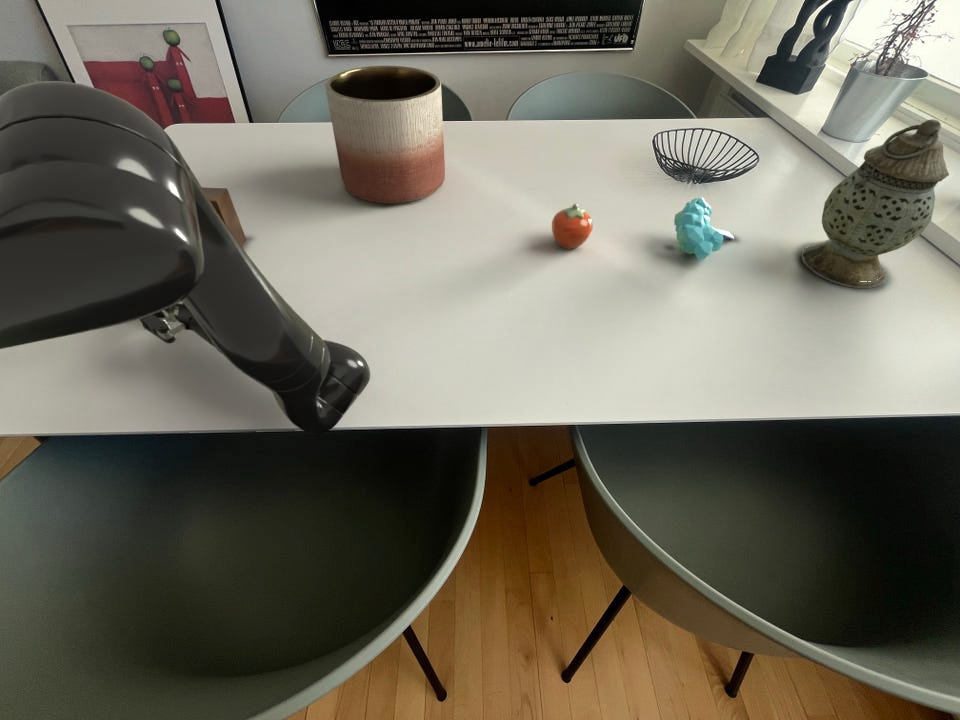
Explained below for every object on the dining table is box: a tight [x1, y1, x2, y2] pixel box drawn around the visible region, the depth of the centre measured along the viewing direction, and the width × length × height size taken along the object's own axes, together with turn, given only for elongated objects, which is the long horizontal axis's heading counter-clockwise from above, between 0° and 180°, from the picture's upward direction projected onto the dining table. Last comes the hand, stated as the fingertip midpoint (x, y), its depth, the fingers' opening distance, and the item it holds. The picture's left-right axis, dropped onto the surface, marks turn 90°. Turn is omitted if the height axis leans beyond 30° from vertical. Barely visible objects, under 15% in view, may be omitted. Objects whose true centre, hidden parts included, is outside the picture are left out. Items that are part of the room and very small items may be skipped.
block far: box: [201, 186, 247, 248], centre depth 83 cm, size 4×4×10 cm
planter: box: [324, 65, 446, 205], centre depth 98 cm, size 22×22×20 cm
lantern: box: [800, 118, 950, 289], centre depth 78 cm, size 14×14×25 cm
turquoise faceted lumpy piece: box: [673, 196, 735, 261], centre depth 89 cm, size 11×9×15 cm
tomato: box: [551, 203, 594, 249], centre depth 87 cm, size 7×7×8 cm
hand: (171, 281), depth 68 cm, fingers open, 8 cm apart
